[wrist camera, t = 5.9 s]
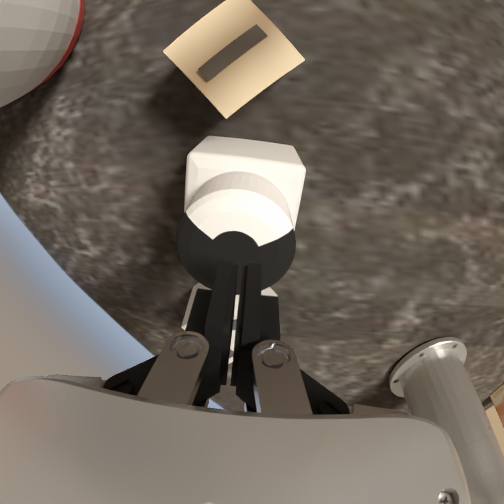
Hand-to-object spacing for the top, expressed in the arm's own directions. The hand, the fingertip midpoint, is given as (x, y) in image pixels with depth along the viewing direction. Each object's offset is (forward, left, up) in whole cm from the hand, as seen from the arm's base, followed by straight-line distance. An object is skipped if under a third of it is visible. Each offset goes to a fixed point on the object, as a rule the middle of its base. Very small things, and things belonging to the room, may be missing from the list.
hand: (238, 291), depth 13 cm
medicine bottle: (0, 0, -15) cm, 15 cm away
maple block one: (+8, -6, -15) cm, 18 cm away
